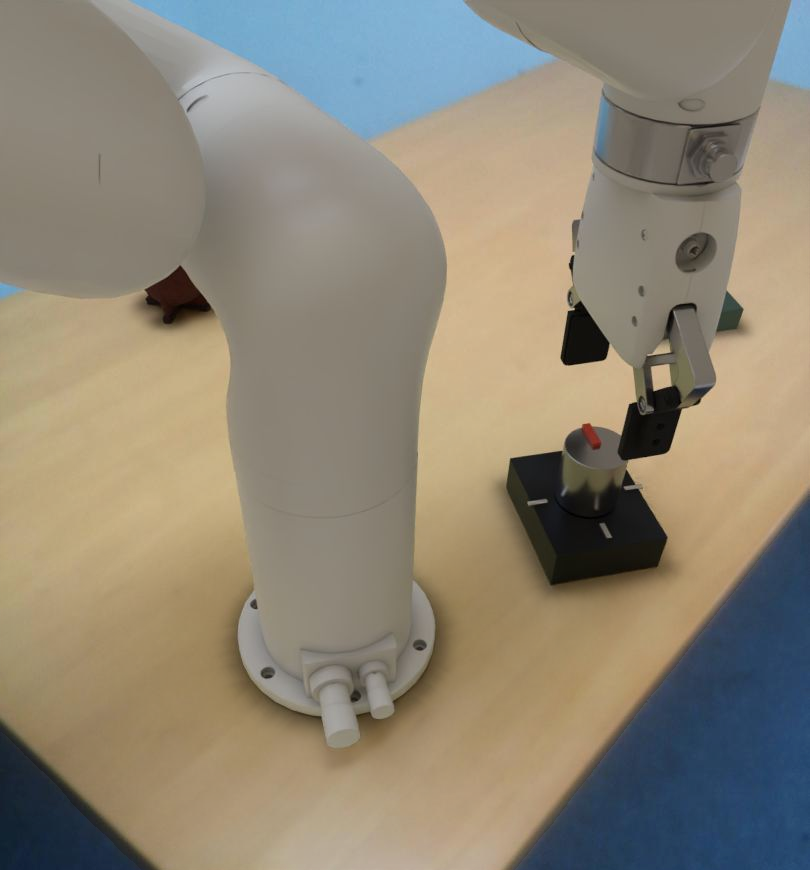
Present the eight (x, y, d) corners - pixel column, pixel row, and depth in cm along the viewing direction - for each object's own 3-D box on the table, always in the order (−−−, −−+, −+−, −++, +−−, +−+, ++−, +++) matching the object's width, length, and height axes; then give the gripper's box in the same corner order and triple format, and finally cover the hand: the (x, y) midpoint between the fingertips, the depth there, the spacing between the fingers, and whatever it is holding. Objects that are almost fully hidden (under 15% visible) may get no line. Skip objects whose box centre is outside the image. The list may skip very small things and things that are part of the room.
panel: (662, 566, 61) (673, 535, 59) (546, 586, 60) (552, 555, 57) (607, 472, 68) (615, 440, 65) (501, 488, 66) (506, 456, 64)
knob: (627, 512, 60) (642, 460, 57) (567, 522, 60) (579, 470, 56) (603, 470, 63) (615, 418, 60) (545, 479, 63) (555, 427, 59)
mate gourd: (201, 330, 80) (172, 167, 69) (120, 320, 81) (78, 157, 70) (227, 288, 85) (204, 130, 74) (150, 279, 86) (116, 121, 75)
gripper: (836, 205, 38) (728, 486, 51) (666, 65, 50) (613, 323, 62) (679, 225, 37) (608, 507, 50) (542, 76, 48) (513, 337, 61)
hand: (611, 405), depth 56 cm, fingers open, 9 cm apart
